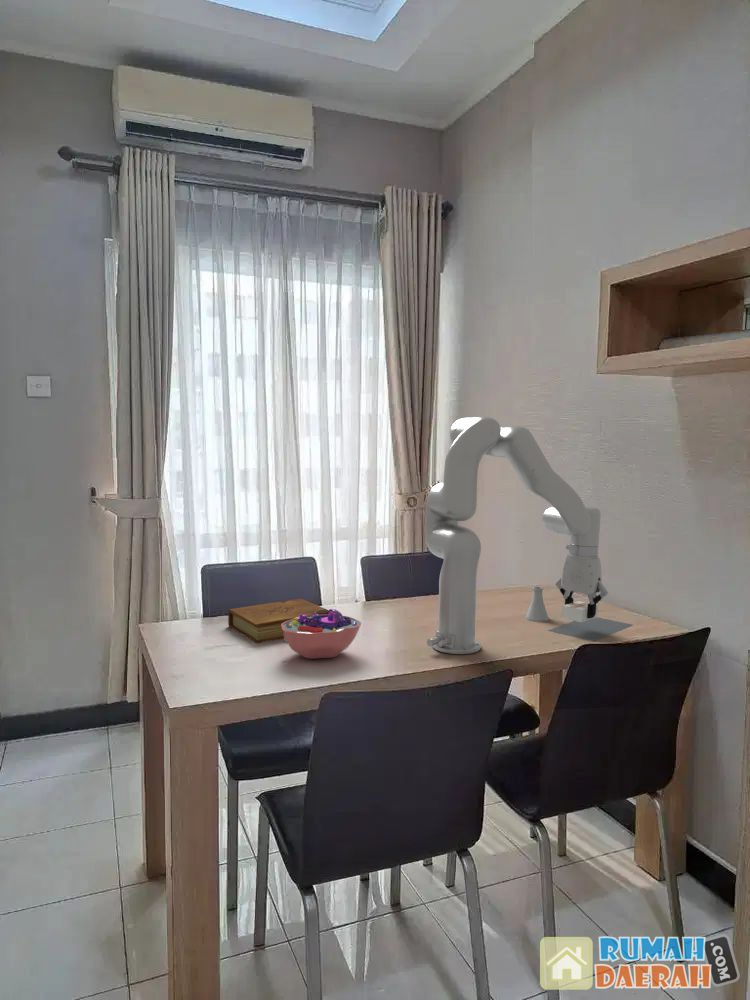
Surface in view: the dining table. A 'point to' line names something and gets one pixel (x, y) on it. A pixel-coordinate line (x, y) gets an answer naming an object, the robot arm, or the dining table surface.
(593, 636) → the mat
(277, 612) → the diary
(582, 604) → the card deck
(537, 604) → the flask
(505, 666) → the dining table surface
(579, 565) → the robot arm
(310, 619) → the cell model
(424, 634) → the dining table surface
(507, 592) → the dining table surface
